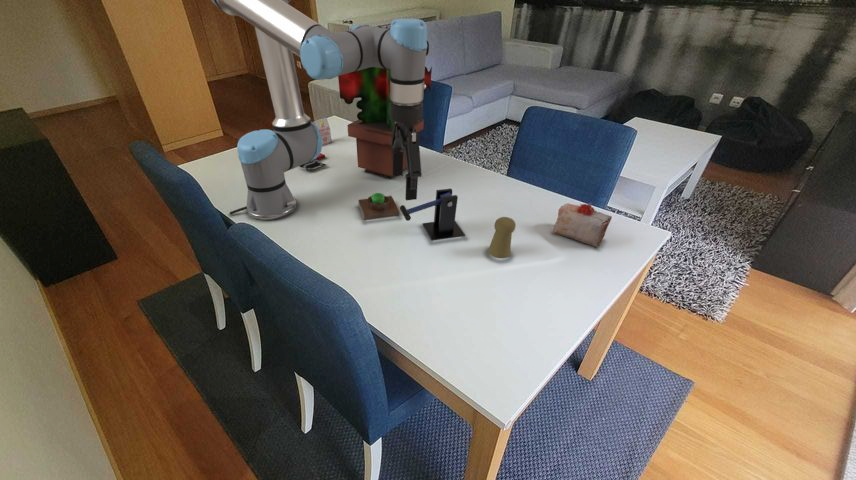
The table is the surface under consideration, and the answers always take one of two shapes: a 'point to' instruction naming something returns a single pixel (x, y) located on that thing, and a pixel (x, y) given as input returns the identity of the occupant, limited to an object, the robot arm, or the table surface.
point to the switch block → (378, 208)
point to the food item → (582, 223)
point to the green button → (378, 198)
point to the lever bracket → (444, 218)
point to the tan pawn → (502, 237)
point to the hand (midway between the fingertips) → (403, 187)
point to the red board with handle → (314, 163)
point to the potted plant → (374, 116)
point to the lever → (420, 207)
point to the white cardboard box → (324, 130)
